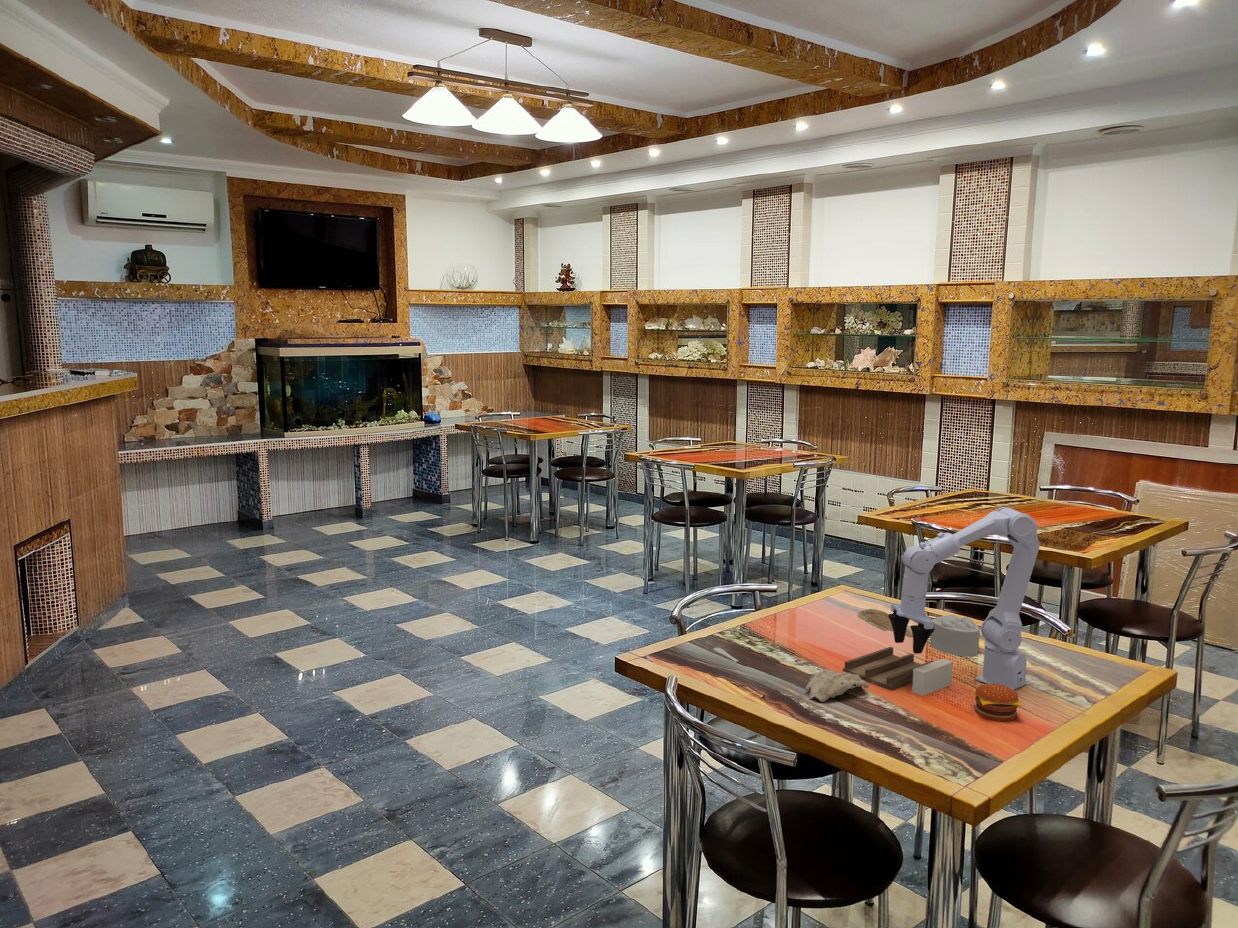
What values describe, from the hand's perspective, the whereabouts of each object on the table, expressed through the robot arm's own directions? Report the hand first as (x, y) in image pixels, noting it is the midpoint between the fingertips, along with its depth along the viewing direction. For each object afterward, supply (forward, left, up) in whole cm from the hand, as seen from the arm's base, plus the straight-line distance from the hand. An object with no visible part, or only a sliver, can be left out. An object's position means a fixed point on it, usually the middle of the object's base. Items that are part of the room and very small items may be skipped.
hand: (908, 647), depth 223 cm
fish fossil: (+32, -34, -10) cm, 48 cm away
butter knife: (+36, +24, -10) cm, 44 cm away
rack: (+7, -2, -9) cm, 12 cm away
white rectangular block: (-6, -2, -10) cm, 11 cm away
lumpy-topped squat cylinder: (+7, -33, -10) cm, 35 cm away
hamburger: (-23, -1, -10) cm, 25 cm away
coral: (+7, +19, -10) cm, 22 cm away
